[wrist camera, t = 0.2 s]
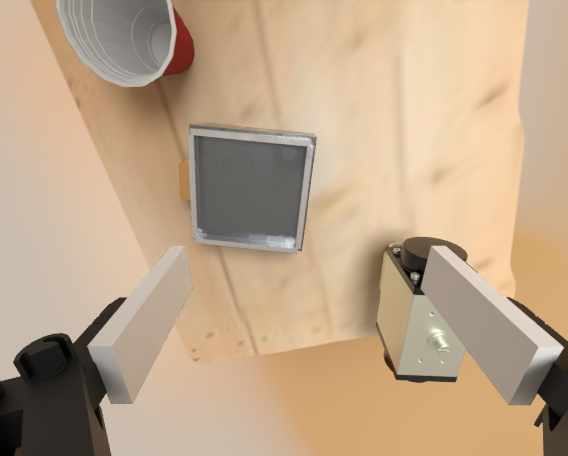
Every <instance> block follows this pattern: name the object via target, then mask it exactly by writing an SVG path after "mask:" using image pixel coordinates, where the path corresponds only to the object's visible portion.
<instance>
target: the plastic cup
mask: <svg viewBox="0 0 568 456" xmlns="http://www.w3.org/2000/svg"><path fill="white" fill-rule="evenodd" d="M56 10H57V13H58V16H59V19H60V22H61V25H62V28H63V31H64V34H65V37H66V39H67V40H68V42H69V43H70V45H71V46H72V48H73V49H74V51H75V52H76V54H77V55H78V57H79V58H80V60H81V61H82V62H83V63H84V64H85V65H86V66H88V67H89V68H90V69H91V70H92V71H93V72H95V73H96V74H97V75H98V76H99V77H100V78H102V79H104V80H106V81H109V82H111V83H114V84H116V85H119V86H121V87H141V86H145V85H147V84H149V83H150V82H152V81H154V80H155V79H157V78H159V77H160V76H162V75H170V74H173V73H180V72H182V71H183V70H185V69H187V68H188V67H189V65H190V64H191V62H192V60H193V55H194V46H193V40H192V37H191V35H190V33H189V31H188V29H187V28H186V26H185V25H184V23H183V21H182V19H181V17H180V16H179V14H178V13H177V11H176V10H175V8H174V7H173V5H172V2H171V0H56Z"/></svg>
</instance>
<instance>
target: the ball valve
mask: <svg viewBox="0 0 568 456" xmlns="http://www.w3.org/2000/svg"><path fill="white" fill-rule="evenodd" d="M431 246H446V247H447V248H449V249H450V250H451V251H452V252H453V253H454V254H456V255H457V256H458V257H459V258H460V259H461V260H463V261H464V262H465V263H466V261H467V258H468V255H467V253H466V251H465V250H464V249H462V248H461V247H459V246H458V245H456V244H453V243H451V242H448V241H445V240H442V239H437V238H431V237H413V238H409V239H407V240H405V241H404V242H403V243H391V244H390V245H389V247H388V249H387V250H386V251H385V252H384V256H383V263H382V270H381V277H380V284H379V289H380V291H381V295H380V302H379V309H378V315H377V322H376V327H377V329H378V332H379V335H380V338H381V340H382V343H383V346H384V360H385V362H386V364H387V366H388V367H389V368H390V370H391V371H392V372H393V373H394V376H395V379H396V380H408V381H411V382H416V383H422V382H426V381H438V382H456V380H457V376H458V373H459V370H460V367H461V364H462V361H463V358H464V355H465V352H466V348H465V347H464V346H463V344H462V343H461V342H460V340H459V339H458V338H457V336H456V335H455V334H454V332H453V331H452V330H451V328H450V327H449V326H448V324H447V323H446V322H445V320H444V319H443V318H442V316H441V315H440V314H439V312H438V311H437V310H436V308H435V307H434V306H433V304H432V303H431V302H430V300H429V299H428V298H427V296H426V295H425V294H424V292H423V291H422V290H421V284H422V280H423V276H424V272H425V268H426V264H427V260H428V256H429V252H430V248H431ZM466 264H467V263H466ZM467 265H468V264H467ZM468 266H469V265H468ZM470 267H471V266H470ZM471 268H472V267H471ZM472 269H473V268H472ZM473 270H474V269H473ZM474 271H475V270H474Z"/></svg>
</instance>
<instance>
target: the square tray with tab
mask: <svg viewBox="0 0 568 456" xmlns="http://www.w3.org/2000/svg"><path fill="white" fill-rule="evenodd" d="M316 139H317V137H316V136H315V135H314V134H311V133H301V132H291V131H281V130H271V129H261V128H251V127H241V126H231V125H221V124H211V123H205V124H190V134H188V156H189V160H185V161H183V162H180V163H179V172H180V189H181V199H183V200H191V222H192V238H194V240H195V243H201V244H210V245H220V246H229V247H238V248H248V249H257V250H267V251H276V252H285V253H295V254H297V251H302V245H303V238H304V230H305V222H306V215H307V207H308V200H309V192H310V184H311V177H312V169H313V162H314V154H315V146H316Z"/></svg>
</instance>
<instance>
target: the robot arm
mask: <svg viewBox="0 0 568 456" xmlns="http://www.w3.org/2000/svg"><path fill="white" fill-rule="evenodd" d="M191 290H192V282H191V276H190V270H189V264H188V259H187V253H186V247H185V246H170V248H169V249H168V250H167V251H166V252H165V254H164V255H163V256H162V257H161V258H160V260H159V261H158V262H157V263H156V264H155V266H154V267H153V268H152V269H151V270H150V272H149V273H148V274H147V275H146V277H145V278H144V279H143V280H142V281H141V282H140V284H139V285H138V286H137V287H136V289H135V290H134V291H133V292H132V293H131V294H130V296H129V297H128V298H118V299H117V300H115V301H114V302H112V303H111V304H109V305H108V306H107V307H106V308H105V309H104V310H103V311H102V313H100V315H99V317H97V318H96V319H95V320H94V322H92V324H91V325H90V326H89V327H88V328H87V329H86V330H85V331H84V333H82V335H81V336H80V337H79V338H78V339H77V340H76V341H75V342H74V343H72V341H71V339H70V337H69V336H68V335H66V334H63V333H59V334H51V335H48V336H45V337H42V338H40V339H38V340H36V341H34V342H32V343H31V344H29V345H27V346H26V347H25V348H23V349H22V350H21V351H20V352H19V353H18V354H17V355H16V357H15V359H14V362H13V363H14V365H15V367H16V368H17V370H18V372H19V373H20V375H21V376H20V377H16V378H12V379H8V380H4V381H0V456H111V452H110V448H109V443H108V438H107V434H106V428H105V423H104V419H103V414H102V409H101V407H100V405H99V404H100V402H101V401H102V399H103V397H104V396H105V394H106V393H107V396H108V398H109V400H110V403H111V404H133V402H134V400H135V398H136V396H137V394H138V392H139V390H140V388H141V387H142V385H143V383H144V381H145V379H146V377H147V375H148V373H149V371H150V369H151V367H152V365H153V364H154V362H155V360H156V357H157V356H158V354H159V352H160V350H161V348H162V346H163V344H164V342H165V340H166V338H167V336H168V335H169V333H170V331H171V328H172V327H173V325H174V323H175V321H176V319H177V317H178V315H179V313H180V311H181V310H182V308H183V306H184V304H185V302H186V300H187V298H188V296H189V294H190V292H191ZM421 290H422V291H423V292H424V294H425V295H426V296H427V298H428V299H429V300H430V302H431V303H432V304H433V306H434V307H435V308H436V310H437V311H438V312H439V314H440V315H441V316H442V318H443V319H444V320H445V322H446V323H447V324H448V326H449V327H450V328H451V330H452V331H453V332H454V334H455V335H456V336H457V338H458V339H459V340H460V342H461V343H462V344H463V346H464V347H465V348H466V350H467V351H468V352H469V354H470V355H471V356H472V357H473V359H474V360H475V361H476V363H477V364H478V365H479V367H480V368H481V369H482V371H483V372H484V373H485V375H486V376H487V377H488V379H489V380H490V381H491V383H492V384H493V385H494V387H495V388H496V389H497V391H498V392H499V393H500V395H501V396H502V397H503V399H504V400H505V401H506V403H507V404H508V405H531V403H532V402H533V400H534V398H535V397H536V395H537V393H538V394H539V395H540V396H541V398H542V399H543V400H544V401H545V402H546V404H545V406H544V408H543V409H542V411H541V413H540V414H539V416H538V418H537V419H536V421H535V424H534V425H535V426H537V427H539V425H540V424H541V423H543V446H544V447H543V450H544V456H568V341H567V340H565V339H564V338H563V337H562V336H561V335H559V334H558V333H557V332H556V331H554V330H553V329H552V328H551V327H550V326H548V325H547V324H545V322H544V321H542V320H541V319H540V318H539V317H536V316H535V314H534V313H533V312H531V311H530V310H529V309H528V308H527V307H525V306H524V305H522V304H521V303H519V302H517V301H515V300H513V299H512V298H510V297H505V296H504V295H502V294H501V293H500V292H499V291H498V290H497V289H495V288H494V287H493V286H492V285H491V284H490V283H488V282H487V281H486V280H485V279H484V278H483V277H481V276H480V275H479V274H478V273H477V272H476V271H474V270H473V269H472V268H471V267H470V266H468V265H467V264H466V263H465V262H464V261H463V260H461V259H460V258H459V257H458V256H457V255H456V254H454V253H453V252H452V251H451V250H450V249H449V248H447V247H446V246H431V248H430V252H429V256H428V260H427V264H426V268H425V272H424V276H423V280H422V284H421Z"/></svg>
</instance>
